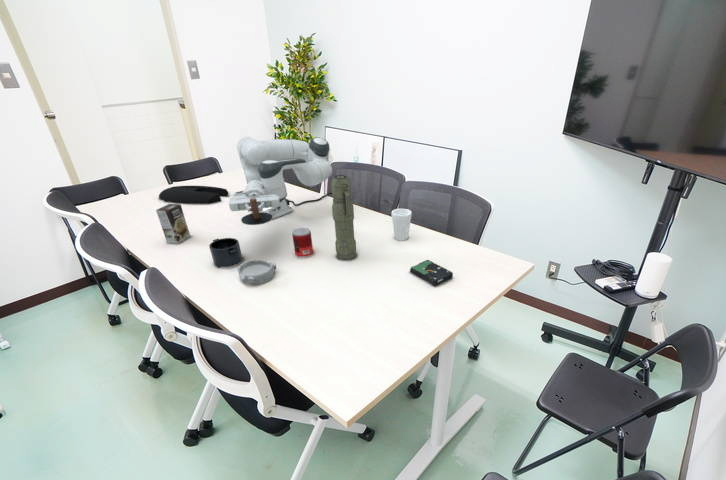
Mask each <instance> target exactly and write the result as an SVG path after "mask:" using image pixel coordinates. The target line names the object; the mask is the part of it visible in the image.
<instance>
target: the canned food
mask: <svg viewBox="0 0 726 480" xmlns="http://www.w3.org/2000/svg"><path fill="white" fill-rule="evenodd" d="M291 236H292V242H293V247H294V253H295V255H296V256H297V257H301V258H306V257H309V256H311V255H313V253H314V248H313V247H314V246H313V240H312V232H311V229H310V228H309V227H298V228H295V229H293V230H292V232H291Z"/></svg>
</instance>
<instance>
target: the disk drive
mask: <svg viewBox="0 0 726 480" xmlns="http://www.w3.org/2000/svg"><path fill="white" fill-rule="evenodd" d="M409 270H410V271H409V272H410V273H411V274H413V275H415V276H416V277H418V278H420V279H422V280H423V281H425V282H426V283H428V284H430V285H432V286H434V287H435V286H438V285H440V284H443V283H445V282H447V281H449V280H450V279H451V280H452V279H453V277H454V273H453V272H452V271H450V270H448V269H447V268H444V267H443V266H440V264H437V263H435V262H434V261H432V260H430V259H426V260H423V261H421V262H419V263H417V264H415V265H413V266H411V267H410V268H409Z"/></svg>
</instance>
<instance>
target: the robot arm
mask: <svg viewBox="0 0 726 480" xmlns="http://www.w3.org/2000/svg"><path fill="white" fill-rule="evenodd" d="M236 149H237V150H236V151H237V153H238V157H239V160H240V164H241V168H242V170H243V174H244V176H245V181H246V186H245V189H244V190H240V191H236V192H233V193H232V196H231V197H230V199H229V200H228V206H229V210H230V211H231V212H241V211H247V212H249V213H250V214H252V208H251V204H250V199H252V198H256V200H257V205H258V211H259V213H269V214H271V215H272V217H273V218H272V220H275V219H277V218H280V217H282V216H284V215H287V214H289V213H291V212H293V208H292V207H291V206H290V205H291V203H292V205H293V206H295V207H297V206H301V205H303V204H306V203H313V202H317V201H321V200H323V198H326V197H328V196H330V195H332V192H328V193H326V194H323V195H322V196H321V197H319V198H317V199H309V200H304V201H301V202H300V203H295V201H293V200H289V199H288V198H287V197H288V192H287V186H286V183H285V178H284V174H283V173H284V170H291V169H292V171H293V172H294V175H295V176H296V178H297V180H298V181H299V182H300V183H301V184H302V185H304V186H306V187H314V186H317V185H319V184H322V183H323V182H324V181H326V180H327V179H329V178H330V177H331V176H332V174H333V167H332V165H331V163H330V161H329V159H330V158H329V157H330V142H328V140H327V139H325V138H323V137H319V136H316V137H313V138H311V139H310V141H309V143H308V142H306V141H304V140H301V139H300V140H299V139H290V138H289V139H288V138H287V139H284V138H283V139H281V138H280V139H279V138H277V139H276V138H274V139H268V140H256V138H255V139H254V138H253V137H251V136H243V137H240V138H239V139H238V140H237V142H236Z"/></svg>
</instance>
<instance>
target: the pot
mask: <svg viewBox="0 0 726 480" xmlns="http://www.w3.org/2000/svg"><path fill="white" fill-rule="evenodd" d="M208 247H209V251H210V254H211V257H212V261H213V265H214V266H215V267H216V268H219V269H220V268H228V267H229V268H230V267H234V266H236V265H238V264H240V263H241V262H242V261H243V260H244V258H243V254H242V251H241V246H240V242H239V240H238V239H236V238H234V237H225V238H215V239H213V240H212V241H211V242H210V243H209V246H208Z"/></svg>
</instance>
